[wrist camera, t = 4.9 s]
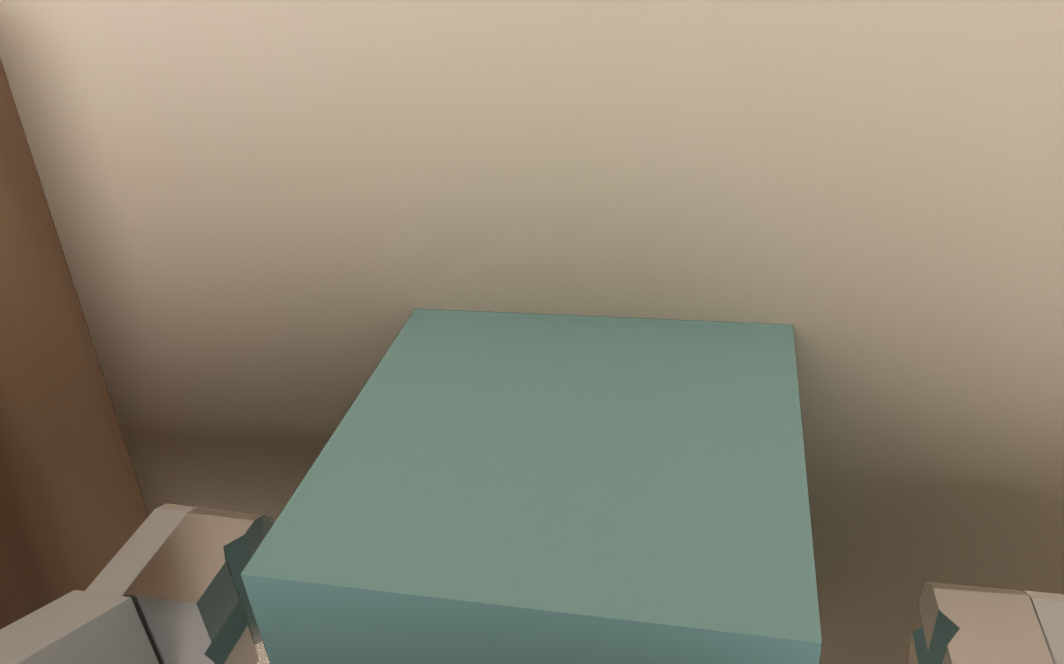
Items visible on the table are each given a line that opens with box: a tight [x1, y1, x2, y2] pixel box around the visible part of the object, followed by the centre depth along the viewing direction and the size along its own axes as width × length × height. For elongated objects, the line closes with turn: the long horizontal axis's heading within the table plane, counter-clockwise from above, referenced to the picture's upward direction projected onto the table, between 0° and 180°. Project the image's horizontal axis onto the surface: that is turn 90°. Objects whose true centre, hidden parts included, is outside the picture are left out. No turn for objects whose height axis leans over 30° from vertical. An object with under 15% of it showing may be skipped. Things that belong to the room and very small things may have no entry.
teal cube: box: [241, 309, 822, 664], centre depth 11 cm, size 5×5×5 cm
